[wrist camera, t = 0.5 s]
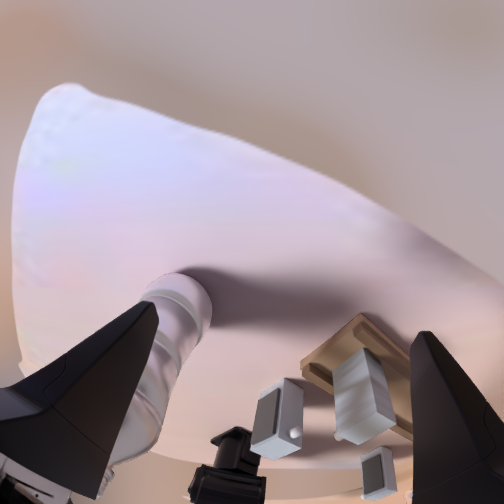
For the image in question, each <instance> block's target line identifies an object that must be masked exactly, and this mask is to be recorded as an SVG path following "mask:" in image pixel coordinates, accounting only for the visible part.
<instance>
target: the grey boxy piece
mask: <svg viewBox="0 0 504 504" xmlns="http://www.w3.org/2000/svg"><path fill="white" fill-rule="evenodd" d="M360 457H361V469H362V483H363V494H361V499H368V500H373V501H375V500H378V499H381V498H383V497H386V496H388V495H391V494H393V493H395V492H397V484H396V477H395V470H394V463H393V457H392V451H391V450H390V449H388V448H385V447H383V446H380V447H378V448H376V449H374V450H372V451H370V452H368V453H366V454H364V455H362V456H360Z"/></svg>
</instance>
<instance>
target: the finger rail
mask: <svg viewBox="0 0 504 504" xmlns="http://www.w3.org/2000/svg"><path fill="white" fill-rule="evenodd" d="M300 369H301V370H302V377H304V378H305V379H307V380H309V381H310V382H312V383H313V384H315V385H316V386H318V387H319V388H321V389H323V390H324V391H326V392H327V393H329V394H331V395H332V396H334V399H335V413H336V430H337V431H336V432H334V438H335V439H336V440H337V441H341V440H343V439H346V440H348V441H350V442H352V443H355V444H357V445H360V444H362V443H364V442H366V441H367V440H369V439H371V438H373V437H375V436H377V435H379V434H380V433H382V432H384V431H386V430H387V429H390V430H392V431H394V432H396V433H398V434H400V435H402V436H403V437H405V438H407V439H409V440H411V441H413V425H412V409H411V396H410V357H409V356H408V355H407V354H406V353H405V352H404V351H403V350H402V349H401V348H399V347H398V346H397V345H396V344H395V343H394V342H393V341H392V340H391V339H389V338H388V337H387V336H386V335H385V334H384V333H383V332H382V331H380V330H379V329H378V328H377V327H376V326H375V325H374V324H373V323H371V322H370V321H369V320H368V319H367V318H366V317H365V316H363V315H362V314H361V313H360V314H359V315H357V316H356V317H355V318H354V319H353V320H352V321H350V322H349V323H348V324H347V325H346V326H344V327H343V328H342V329H341V330H340V331H338V332H337V333H336V334H335V335H334V336H332V337H331V338H330V339H329V340H327V341H326V342H325V343H324V344H322V345H321V346H320V347H319V348H317V349H316V350H315V351H313V352H312V353H311V354H309V355H308V356H307V357H306V358H304V359H303V360H302V361H301V365H300Z"/></svg>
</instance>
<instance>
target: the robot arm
mask: <svg viewBox="0 0 504 504" xmlns="http://www.w3.org/2000/svg"><path fill="white" fill-rule="evenodd" d="M158 325H159V316H158V313H157V310H156V306H155V304H154V303H153V302H151V301H146V300H143V301H141V302H139V303H138V304H136V305H135V306H133V307H132V308H130V309H129V310H127V311H126V312H124V313H123V314H121V315H120V316H118V317H117V318H115V319H114V320H113V321H111V322H110V323H108V324H107V325H105V326H104V327H102V328H101V329H99V330H98V331H96V332H95V333H94V334H92V335H91V336H89V337H88V338H86V339H85V340H83V341H82V342H81V343H79V344H78V345H76V346H75V347H73V348H72V349H71V350H69V351H68V352H67V353H65V354H63V355H62V356H60V357H59V358H57V359H56V360H54V361H53V362H52V363H50V364H49V365H47V366H45V367H44V368H42V369H40V370H39V371H37V372H35V373H33V374H32V375H30V376H28V377H26V378H25V379H23V380H21V381H20V382H18V383H16V384H14V385H12V386H10V387H5V388H0V504H73V503H72V501H71V498H70V495H71V493H72V491H73V492H76V493H78V494H81V495H83V496H86V497H88V498H91V499H93V500H95V499H96V497H97V494H98V491H99V488H100V485H101V482H102V479H103V476H104V473H105V470H106V468H107V465H108V462H109V459H110V455H111V453H112V450H113V448H114V445H115V442H116V439H117V437H118V434H119V431H120V429H121V426H122V424H123V421H124V418H125V416H126V413H127V411H128V408H129V406H130V403H131V401H132V398H133V396H134V393H135V391H136V388H137V386H138V383H139V381H140V378H141V376H142V374H143V371H144V369H145V366H146V364H147V361H148V358H149V355H150V352H151V348H152V345H153V342H154V338H155V335H156V332H157V329H158ZM410 396H411V409H412V425H413V493H412V494H413V495H412V504H504V423H503V421H502V420H501V419H500V418H499V416H498V415H497V414H496V412H495V411H494V410H493V408H492V407H491V406H490V404H489V403H488V402H486V399H485V397H484V396H483V395H482V393H481V392H480V391H479V389H478V388H477V387H476V386H475V384H474V383H473V382H472V380H471V379H470V378H469V377H468V375H467V374H466V373H465V371H464V370H463V369H462V368H461V366H460V365H459V364H458V363H457V361H456V360H455V359H454V358H453V357H452V355H451V354H450V353H449V352H448V351H447V349H446V348H445V347H444V346H443V345H442V343H441V342H440V341H439V340H438V339H437V337H436V336H435V335H434V334H433V333H432V332H431V331H420V332H419V333H418V335H417V337H416V338H415V340H414V342H413V344H412V345H411V348H410ZM251 437H252V435H251V434H249V433H247V432H245V431H243V430H241V429H239V428H236V427H234V428H232V429H230V430H228V431H226V432H225V433H223V434H221V435H219V436H217V437H215V438H213V439H211V441H210V442H211V443H212V444H214V445H216V446H218V451H217V455H216V458H215V462H214V465H213V467H210V466H206V465H204V464H202V466H201V467H198V468H197V469H196V472H195V475H194V478H193V480H192V482H191V484H190V486H189V488H188V492H189V494H190V498H191V500H190V502H191V503H194V504H264V500H265V489H266V477H264V476H263V477H260V476H257V471H258V466H259V465H260V459H261V455H259V454H257V453H255V452H253V451H250V448H251V444H250V442H251Z"/></svg>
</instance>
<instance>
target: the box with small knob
mask: <svg viewBox="0 0 504 504" xmlns="http://www.w3.org/2000/svg"><path fill="white" fill-rule="evenodd" d="M303 405H304V390H303V389H301V388H300V387H298V386H297V385H295V384H293V383H292V382H290V381H289V380H287V379H286V378H283V379H282V380H280V381H279V382H277V383H276V384H274V385H273V386H271V387H270V388H269V389H267V390H266V391H264V392H263V393H261V394H260V399H259V400H258V405H257V410H256V416H255V421H254V426H253V432H252V437H251V442H250V444H251V448H250V451H253V452H255V453H257V454H259V455H261V456H264V457H266V458H268V459H270V460H276V459H278V458H281V457H283V456H286V455H288V454H290V453H293V452H295V451H297V450H299V449H302V434H303Z"/></svg>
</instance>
